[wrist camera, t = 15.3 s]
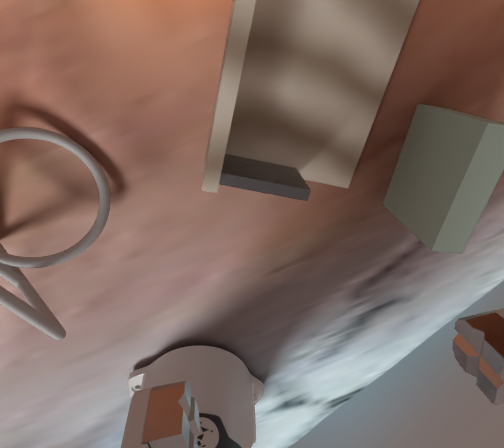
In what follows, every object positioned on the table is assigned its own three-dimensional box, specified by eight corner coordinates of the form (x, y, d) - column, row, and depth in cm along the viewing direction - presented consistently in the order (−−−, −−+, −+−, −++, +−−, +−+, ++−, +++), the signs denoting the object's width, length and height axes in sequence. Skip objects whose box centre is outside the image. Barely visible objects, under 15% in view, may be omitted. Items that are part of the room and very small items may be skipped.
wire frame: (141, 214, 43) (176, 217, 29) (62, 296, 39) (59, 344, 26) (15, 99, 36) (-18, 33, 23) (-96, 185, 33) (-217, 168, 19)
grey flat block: (444, 107, 34) (524, 128, 25) (406, 207, 39) (462, 253, 30) (417, 103, 34) (488, 122, 25) (382, 204, 38) (431, 250, 30)
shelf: (343, 183, 37) (380, 223, 28) (205, 155, 34) (201, 190, 26) (426, -40, 28) (513, -77, 20) (251, -100, 26) (267, -174, 17)
